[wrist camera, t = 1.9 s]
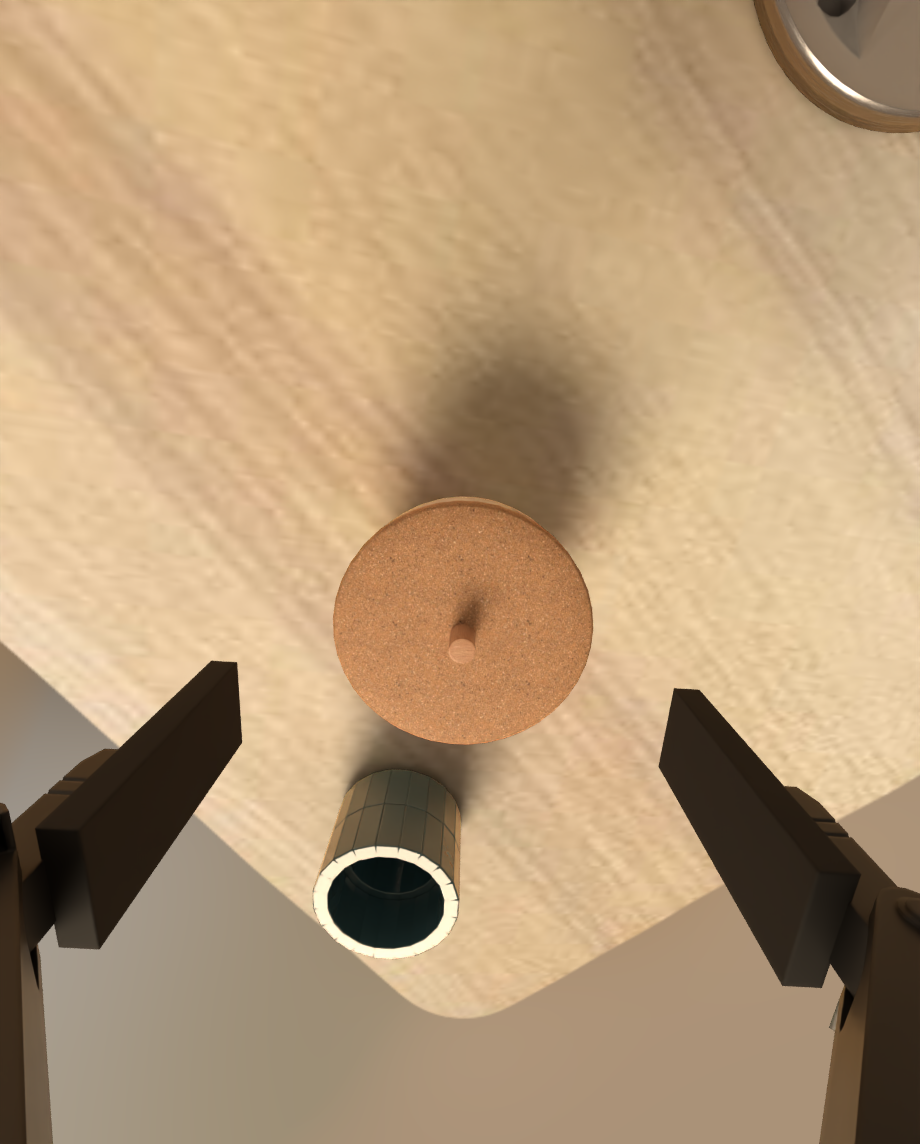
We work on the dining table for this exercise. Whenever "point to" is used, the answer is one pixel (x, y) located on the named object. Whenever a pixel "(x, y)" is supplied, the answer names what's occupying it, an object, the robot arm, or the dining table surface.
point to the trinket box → (463, 621)
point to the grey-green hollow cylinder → (391, 866)
